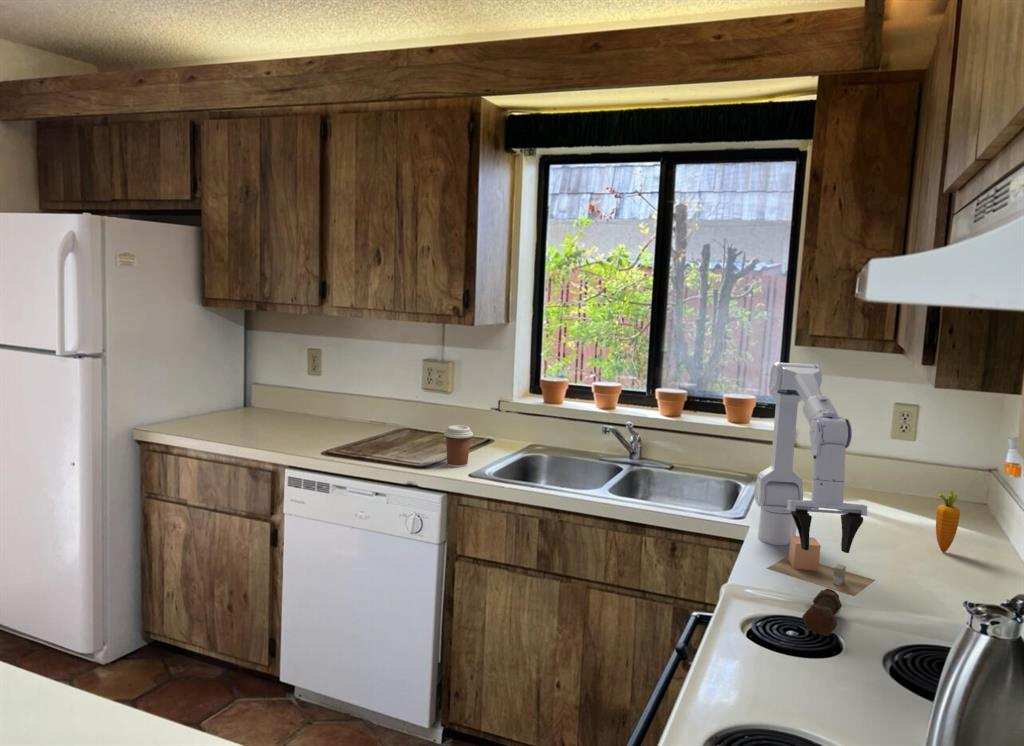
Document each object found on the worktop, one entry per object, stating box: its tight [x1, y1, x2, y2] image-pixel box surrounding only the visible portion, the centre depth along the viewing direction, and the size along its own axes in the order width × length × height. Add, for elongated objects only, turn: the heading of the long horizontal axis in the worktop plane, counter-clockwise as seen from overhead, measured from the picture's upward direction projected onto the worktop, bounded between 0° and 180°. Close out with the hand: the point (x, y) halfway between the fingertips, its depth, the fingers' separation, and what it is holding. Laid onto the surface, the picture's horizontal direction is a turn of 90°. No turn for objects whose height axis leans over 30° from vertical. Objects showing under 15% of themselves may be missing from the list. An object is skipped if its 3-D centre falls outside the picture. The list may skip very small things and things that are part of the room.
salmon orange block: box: [788, 535, 822, 571], centre depth 164 cm, size 5×5×6 cm
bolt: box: [801, 588, 843, 637], centre depth 141 cm, size 6×5×15 cm
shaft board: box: [766, 555, 875, 597], centre depth 160 cm, size 12×18×5 cm, turn 47°
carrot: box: [935, 489, 961, 553], centre depth 181 cm, size 5×5×15 cm
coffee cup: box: [443, 424, 474, 468], centre depth 239 cm, size 9×9×12 cm
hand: (825, 550), depth 147 cm, fingers open, 7 cm apart
